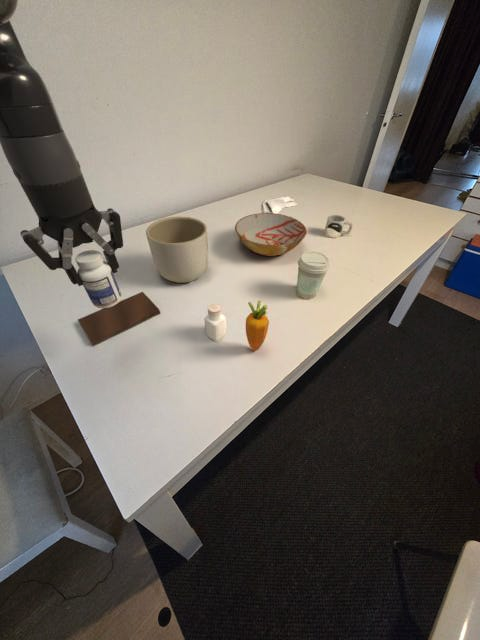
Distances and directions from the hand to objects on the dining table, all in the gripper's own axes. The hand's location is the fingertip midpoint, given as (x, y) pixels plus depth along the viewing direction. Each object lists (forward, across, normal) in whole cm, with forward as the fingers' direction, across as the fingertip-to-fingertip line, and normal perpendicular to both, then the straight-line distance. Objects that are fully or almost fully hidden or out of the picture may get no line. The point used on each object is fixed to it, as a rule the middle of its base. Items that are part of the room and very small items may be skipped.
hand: (97, 276), depth 47 cm
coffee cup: (+22, -50, +12) cm, 56 cm away
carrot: (+22, -23, +18) cm, 37 cm away
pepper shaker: (+22, -19, +8) cm, 30 cm away
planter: (+22, -26, -20) cm, 40 cm away
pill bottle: (+6, 0, 0) cm, 6 cm away
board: (+22, -3, -12) cm, 25 cm away
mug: (+22, -89, -4) cm, 92 cm away
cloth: (+22, -90, -40) cm, 101 cm away
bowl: (+22, -60, -14) cm, 65 cm away
